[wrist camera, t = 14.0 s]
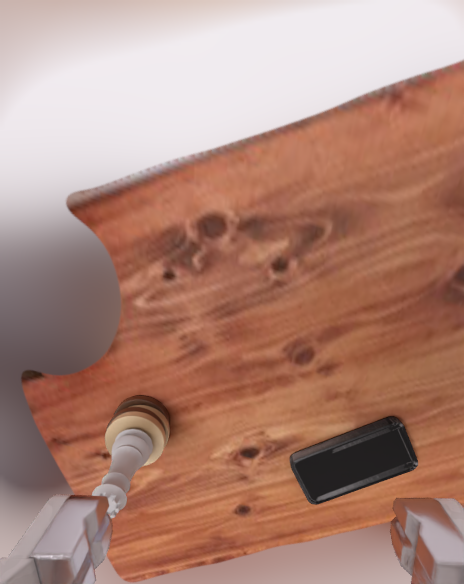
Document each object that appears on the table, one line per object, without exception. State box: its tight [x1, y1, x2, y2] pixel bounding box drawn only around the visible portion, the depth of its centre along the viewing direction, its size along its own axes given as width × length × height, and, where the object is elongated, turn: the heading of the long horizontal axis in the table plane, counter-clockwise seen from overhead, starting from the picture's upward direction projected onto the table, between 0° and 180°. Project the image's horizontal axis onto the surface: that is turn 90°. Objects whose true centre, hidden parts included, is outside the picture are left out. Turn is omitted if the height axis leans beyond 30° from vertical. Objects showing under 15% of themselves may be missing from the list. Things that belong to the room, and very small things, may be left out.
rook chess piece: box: [92, 429, 153, 518], centre depth 30 cm, size 4×4×8 cm
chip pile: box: [105, 396, 170, 466], centre depth 35 cm, size 8×8×4 cm
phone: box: [290, 417, 418, 504], centre depth 37 cm, size 8×1×15 cm
